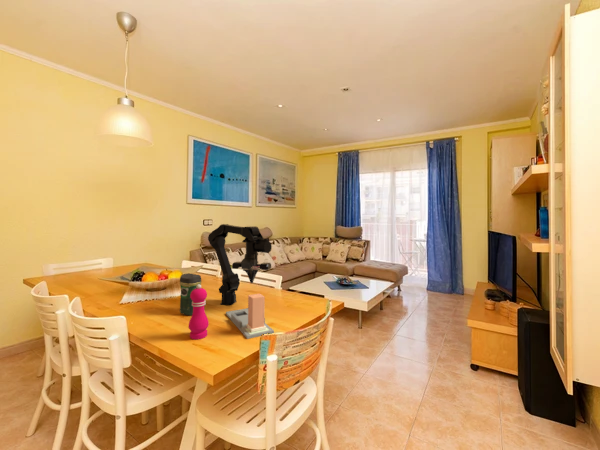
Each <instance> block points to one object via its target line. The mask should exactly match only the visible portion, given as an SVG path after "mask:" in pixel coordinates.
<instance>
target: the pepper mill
mask: <svg viewBox="0 0 600 450" xmlns="http://www.w3.org/2000/svg"><path fill="white" fill-rule="evenodd" d="M207 297H208V292H207V290H206V289H205V288H203V287H202V284H201V285H200V284H198V285H197V286H196V289H194V290H193V291H192V292H191V295H190V298H191V299H192V306H193V314H192V315H191V317H190V319H189V322H188V329H189V330H190V331H189V338H190V339H192V340H202V339H204V338H206V337H207V336H208V328H209V324H210V323H209V319H208V317H207V314H206V311H205V306H206V304H207V303H206V302H207V301H206V299H207Z"/></svg>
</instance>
